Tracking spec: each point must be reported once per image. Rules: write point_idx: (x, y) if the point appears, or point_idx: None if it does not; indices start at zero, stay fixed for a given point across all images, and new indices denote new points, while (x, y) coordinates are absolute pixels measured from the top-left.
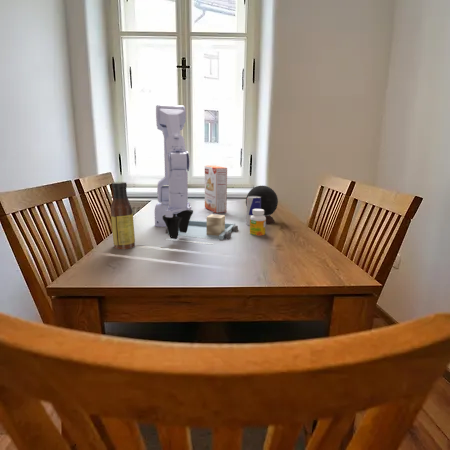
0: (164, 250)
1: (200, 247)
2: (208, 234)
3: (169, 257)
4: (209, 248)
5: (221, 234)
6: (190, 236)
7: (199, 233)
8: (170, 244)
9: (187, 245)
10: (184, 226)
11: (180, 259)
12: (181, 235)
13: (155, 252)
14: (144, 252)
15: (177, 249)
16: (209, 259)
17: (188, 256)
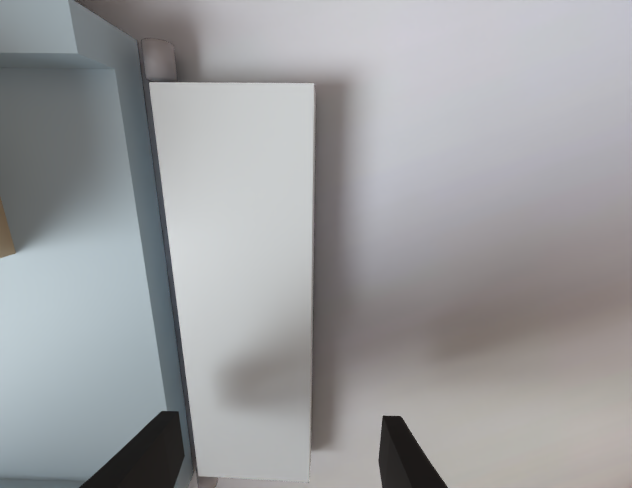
0: (443, 408)
1: None
2: (7, 234)
3: (584, 333)
4: None
5: (24, 35)
6: (150, 357)
7: (22, 320)
8: None
9: None
10: (144, 483)
11: (622, 253)
12: None
13: (493, 437)
14: (503, 484)
15: (402, 346)
16: (611, 25)
17: (549, 223)
